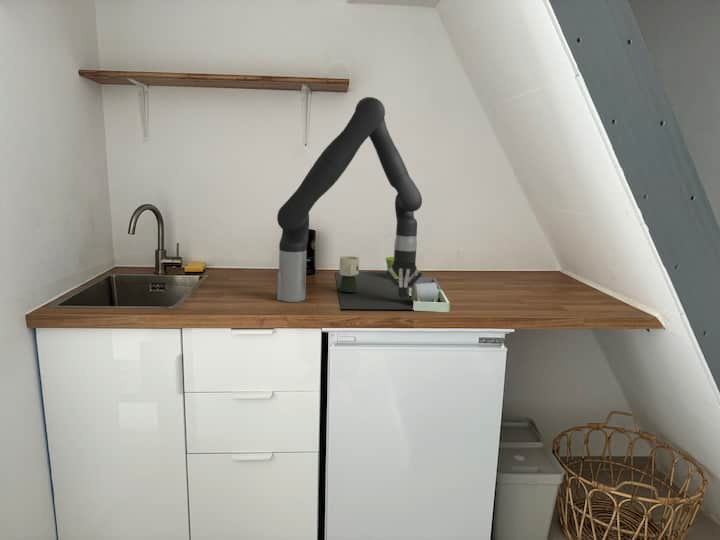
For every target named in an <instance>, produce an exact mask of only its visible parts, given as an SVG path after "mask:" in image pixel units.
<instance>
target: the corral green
mask: <svg viewBox="0 0 720 540" xmlns="http://www.w3.org/2000/svg"><path fill="white" fill-rule="evenodd" d="M411 291H412V287H408V294H409V296H412V295H411ZM409 296H408V297H409ZM438 299H439V300H440V302H438V301H437V302H420V301H412V303H413V305H412V306H413V307H412V311H413V310H414V312H415V311H417V312H438V313H450V307H451V302H450V301H449V299H448V298H447V296H446V295H445V293H444V291H443V289H442V290H438Z"/></svg>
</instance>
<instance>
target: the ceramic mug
mask: <svg viewBox="0 0 720 540" xmlns="http://www.w3.org/2000/svg"><path fill="white" fill-rule="evenodd" d="M411 288H412V291H411V295H412V297H411V301H412V302H413V301H420V302H438V299H439V298H438V289H437V285H436V283H420V284H414V285H412V286H411Z"/></svg>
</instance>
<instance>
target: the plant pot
mask: <svg viewBox="0 0 720 540" xmlns="http://www.w3.org/2000/svg"><path fill="white" fill-rule="evenodd" d="M384 259H385V261H386V265H387V266H386V267H387V269H386V270H389V269H390V268H392V265H393V263H394V256H387V257H385V258H384ZM393 277H394V278H395V279H398V280H399V277H398V276H397V275H396V274H395V272H394V271H393ZM387 279H390V278H389V277H388V276H387Z"/></svg>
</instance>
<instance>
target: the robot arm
mask: <svg viewBox="0 0 720 540" xmlns="http://www.w3.org/2000/svg"><path fill="white" fill-rule="evenodd" d="M355 106H356V107H355V109H354V112H353V114H352V116H351V117H350V119H349V121H348V123H347V124H346V126H345V127H344V129H342V131H341V132H340V133H339V134H338V135H337V136H336V137H335V138H334V139H333V140H332V141H330V143H329V144H328V145H327V146H326V148H324V150H323V151H322V152H321V154H320V155H318V156H319V157H318V158H317V159H316V160H315V162H314V163H313V165H312V166H311V168H310V169H309V171H308V172H307V174H306V176H305V177H304V179H303V180H302V182H301V184H300V185H299V187H298V188H297V189H296V190H295V191H294V193H293V194H291V196H290V198H288V199H287V200H286V202H285V203H283V205H282V206H281V207H280V208H279V210H278V211H277V216H276V220H277V224H278V225H279V227H280V228H281V229H282V230H281V232H282V234H281V237H280V240H279V246H278V249H279V251H278V259H279V260H278V272H277V294H276V295H277V299H276V300H277V301H282V302H289V303H296V302H302V301H305V300H306V290H307V289H306V288H307V287H306V285H307V284H306V283H307V282H306V281H307V280H306V279H307V252H308V250H307V246H308V241H309V234H310V233H309V231H310V211H311V209H312V208H313V207H314V206H315V204H316V202H318V200H319V199H320V198H321V197H322V196H323V195H325V194H326V193H327V192H328V191H329V190H330V189H331V188H332V187H333V186H334V184H335V183H336V182H338V180H339V179H340V177H342V175H343V174H344V172H345V171H346V169H347V168H348V166H349V165H350V164H351V162H352V161H353V159H354V157H355V156H356V155H357V152H358V151H359V149H360V148H361V146H362V145H363V143H365V141H366V140H367V139H368V138H369V139H370V141H371V143H372V146H373V147H374V149H375V152H376V154H377V158H378V159H379V162H380V165H381V167H382V170H383V172H384V174H385V176H386V178H387V180H388V182H389V184H390V186H391V187H393V188H394V189H395V191H396V193H397V194H396V196H395V200H394V209H395V217H396V231H395V240H394V246H393V247H394V250H393V251H394V253H393V257H394V263H393V265H392V268H390V269H389V270H388V269H386V270H385V274H386V275H387V278H388V277H389V278H388V279H390V281H391V282H392V284H394V286H397V287H398V289H397V291H398V292H397V295H398V297H399V298H400V299H405V297H406V296H407V295H408V294H407V292H408V291H407V290H408V288H410V287H412V286H413V284H414V283H415V282H416V281H417V280H418V279H419V278H422V277H421V276H422V275H423V273H422V271H419V270H418V268H417V266H416V265H417V264H416V263H417V262H416V261H417V245H418V241H417V236H418V235H417V234H418V221H417V219H416V218H415V215H414V214H415V213H414V212H417V211H418V210H420V208H421V206H422V204H423V198H422V194H421V192H420V191H419V188H418V187H417V186H416V185H417V184H416V183H415V182H414V180H413V179H412V177H410V175H409V172H408V169H407V167H406V164H405V162H404V160H403V158H402V156H401V154H400V151H398V148H397V147H396V145H395V143H394V140H393V139H392V137H391V134H390V132H389V129H388V127H387V124H386V121H385V120H386V119H385V116H386V110H385V106H384V104H383V103H382V101H381V100H379V99H378V98H375V97H373V96H366V97H364V98H362V99H359V101H358V102H357V104H356V105H355ZM393 271H394V272H395V274H396V275H397V276H398V277H399V279H398V281H397V280H396V279H395V278H394V277H393ZM413 274H414V276H413ZM409 277H413V278H412V279H411V280H410V282H408V280H409Z"/></svg>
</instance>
